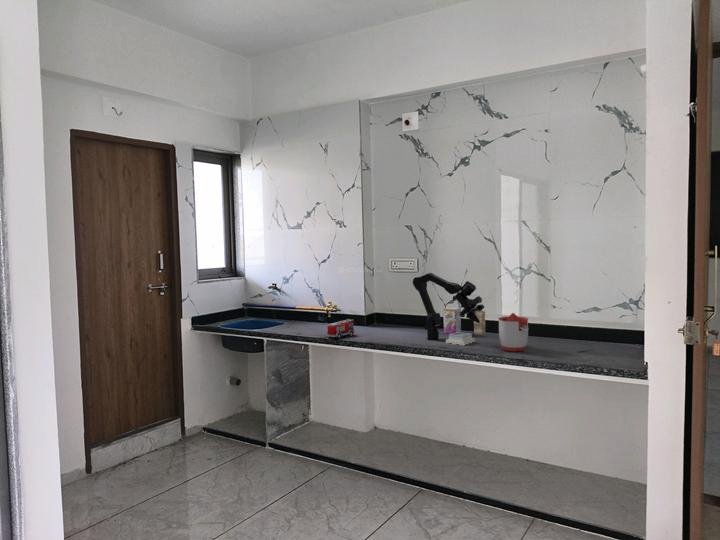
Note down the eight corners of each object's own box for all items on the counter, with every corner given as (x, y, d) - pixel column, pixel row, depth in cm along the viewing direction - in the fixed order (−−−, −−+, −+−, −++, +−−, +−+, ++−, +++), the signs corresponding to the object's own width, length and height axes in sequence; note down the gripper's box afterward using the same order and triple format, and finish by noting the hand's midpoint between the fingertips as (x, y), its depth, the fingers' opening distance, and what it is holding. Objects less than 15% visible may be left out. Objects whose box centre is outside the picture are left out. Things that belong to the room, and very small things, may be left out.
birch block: (481, 334, 309) (480, 312, 308) (474, 333, 312) (473, 311, 311) (485, 333, 312) (484, 311, 311) (478, 332, 315) (477, 310, 314)
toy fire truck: (356, 335, 356) (356, 319, 355) (334, 339, 343) (333, 323, 342) (347, 333, 362) (346, 318, 362) (325, 338, 350) (324, 322, 349)
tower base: (463, 345, 313) (463, 336, 312) (445, 343, 321) (445, 334, 321) (474, 341, 322) (474, 333, 321) (457, 339, 330) (456, 331, 329)
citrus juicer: (515, 354, 286) (515, 316, 285) (492, 349, 301) (492, 312, 300) (537, 350, 293) (537, 313, 292) (513, 345, 309) (513, 310, 307)
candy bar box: (443, 333, 351) (442, 308, 350) (449, 332, 354) (448, 307, 353) (455, 335, 342) (455, 309, 341) (461, 334, 345) (460, 308, 344)
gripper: (464, 293, 306) (481, 315, 300) (481, 290, 320) (498, 310, 313) (452, 306, 312) (469, 327, 305) (469, 302, 326) (486, 323, 319)
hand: (481, 322), depth 311 cm, fingers closed on birch block, 4 cm apart
